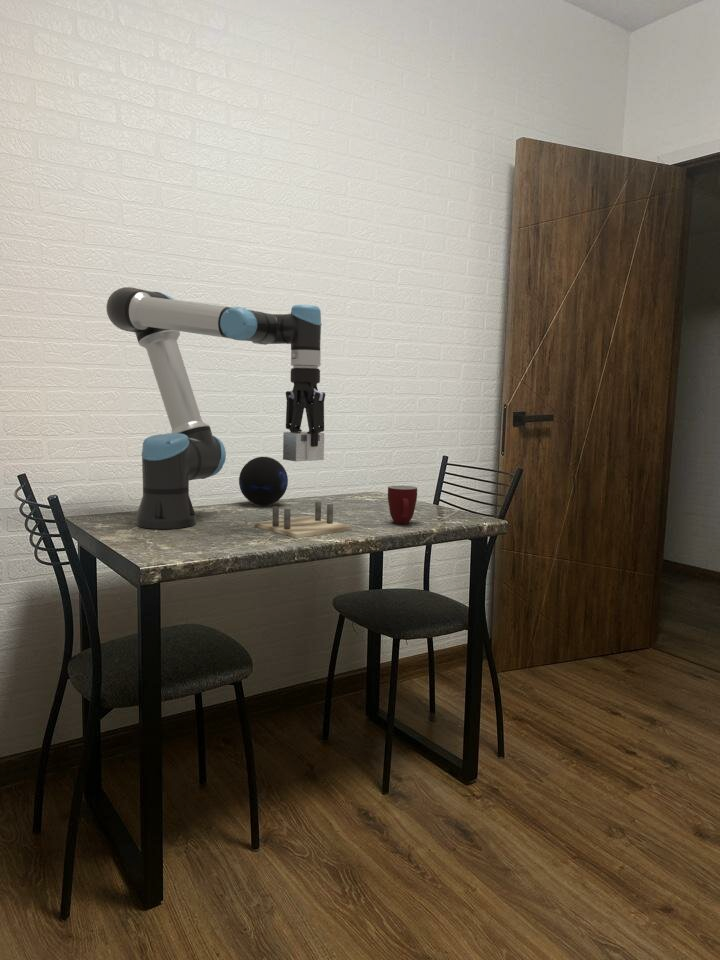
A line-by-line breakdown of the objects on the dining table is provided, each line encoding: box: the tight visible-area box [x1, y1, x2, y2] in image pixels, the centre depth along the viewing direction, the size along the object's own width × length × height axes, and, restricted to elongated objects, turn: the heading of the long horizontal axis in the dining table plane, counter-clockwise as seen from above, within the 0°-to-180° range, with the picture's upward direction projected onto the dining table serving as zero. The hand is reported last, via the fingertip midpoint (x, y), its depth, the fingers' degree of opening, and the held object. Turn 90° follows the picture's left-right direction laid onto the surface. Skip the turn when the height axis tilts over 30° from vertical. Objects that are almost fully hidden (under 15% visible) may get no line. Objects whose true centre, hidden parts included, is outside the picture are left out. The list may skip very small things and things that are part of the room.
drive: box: [282, 431, 325, 462], centre depth 189 cm, size 6×9×7 cm, turn 132°
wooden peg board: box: [254, 501, 353, 539], centre depth 191 cm, size 18×18×6 cm
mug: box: [387, 484, 418, 525], centre depth 200 cm, size 10×8×10 cm
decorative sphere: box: [238, 456, 289, 506], centre depth 226 cm, size 15×15×15 cm
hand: (304, 458), depth 189 cm, fingers closed on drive, 6 cm apart
